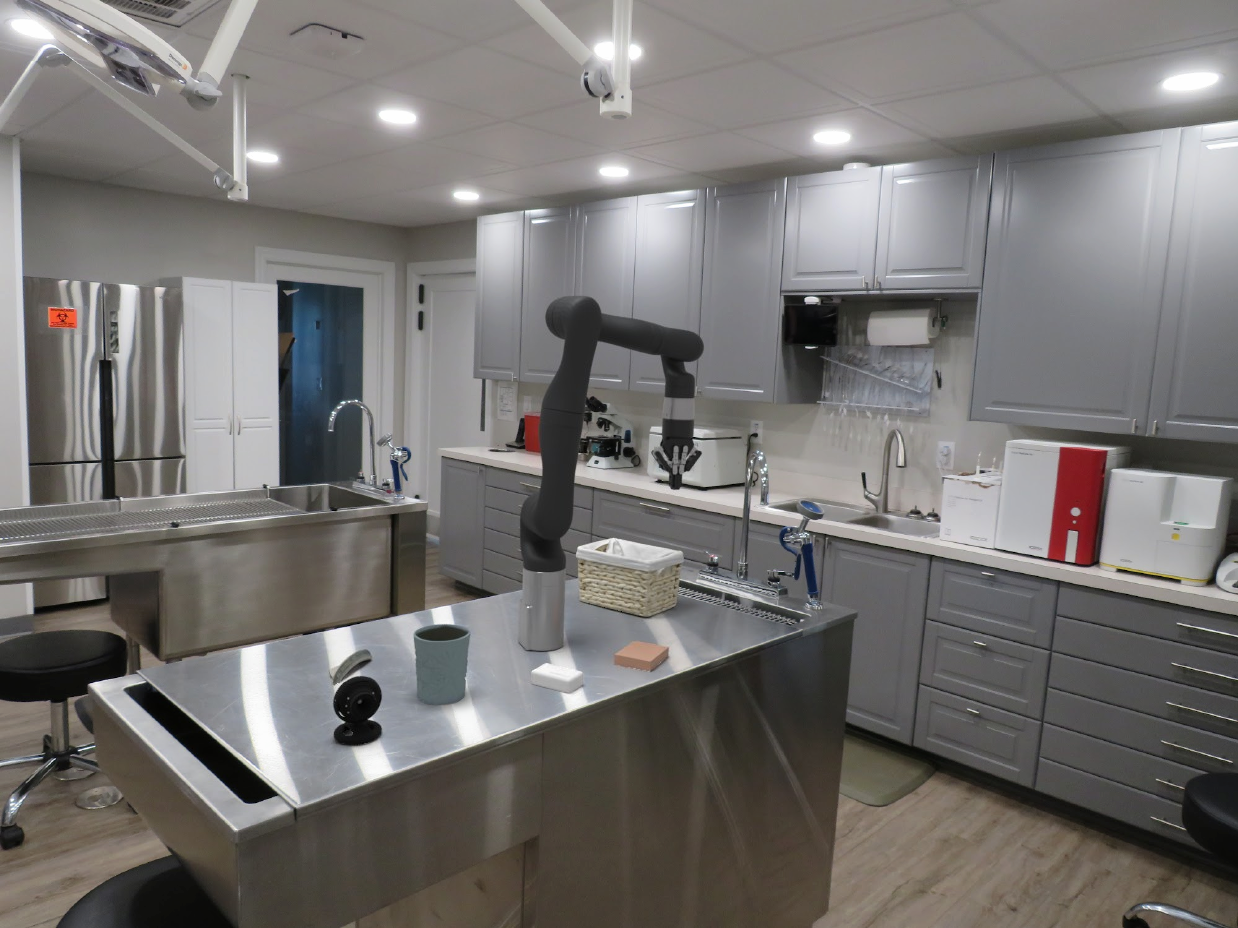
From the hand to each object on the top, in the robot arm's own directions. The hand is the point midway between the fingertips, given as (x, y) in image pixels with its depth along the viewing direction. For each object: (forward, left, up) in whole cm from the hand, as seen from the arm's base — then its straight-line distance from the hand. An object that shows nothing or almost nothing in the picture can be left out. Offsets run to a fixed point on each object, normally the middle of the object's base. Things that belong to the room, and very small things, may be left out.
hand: (675, 489), depth 198 cm
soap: (-39, -30, -32) cm, 59 cm away
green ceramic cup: (-61, -28, -32) cm, 74 cm away
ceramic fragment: (-75, -11, -33) cm, 83 cm away
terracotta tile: (-15, -20, -31) cm, 40 cm away
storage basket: (-5, +14, -32) cm, 36 cm away
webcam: (-77, -40, -32) cm, 93 cm away
